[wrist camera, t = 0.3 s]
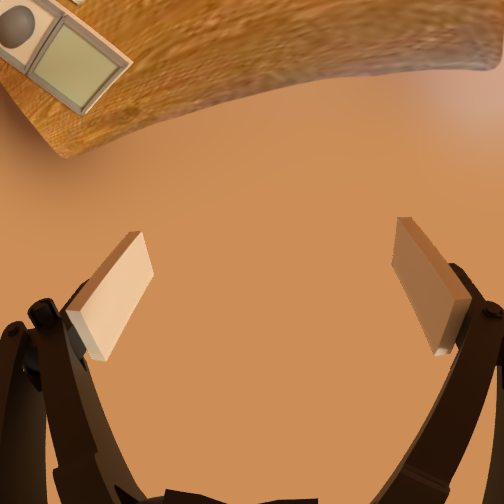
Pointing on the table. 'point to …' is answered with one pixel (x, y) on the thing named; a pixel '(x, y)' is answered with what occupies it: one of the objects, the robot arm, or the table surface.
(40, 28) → the tray
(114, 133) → the table surface
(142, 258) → the robot arm
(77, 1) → the white square frame
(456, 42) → the table surface
